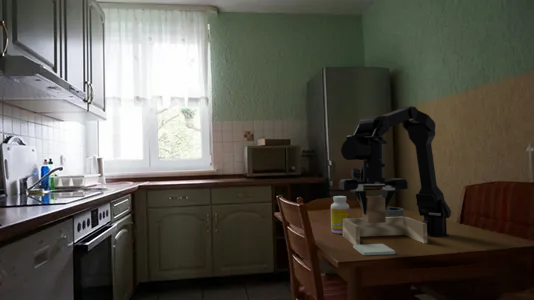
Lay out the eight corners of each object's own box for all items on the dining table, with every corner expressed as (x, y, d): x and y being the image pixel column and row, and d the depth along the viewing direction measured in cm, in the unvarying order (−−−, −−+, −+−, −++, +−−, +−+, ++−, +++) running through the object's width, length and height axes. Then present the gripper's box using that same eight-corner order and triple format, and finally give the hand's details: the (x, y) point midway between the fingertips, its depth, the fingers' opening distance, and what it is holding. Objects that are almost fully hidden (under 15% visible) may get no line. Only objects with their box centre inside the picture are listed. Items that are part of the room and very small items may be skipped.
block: (378, 219, 109) (378, 195, 110) (385, 222, 104) (385, 197, 105) (362, 220, 109) (361, 196, 109) (368, 222, 104) (367, 197, 104)
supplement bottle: (350, 234, 129) (349, 197, 130) (331, 234, 131) (330, 197, 131) (350, 230, 136) (349, 195, 136) (331, 230, 137) (330, 195, 138)
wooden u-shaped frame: (406, 233, 128) (405, 216, 128) (427, 243, 114) (426, 223, 114) (342, 236, 126) (342, 218, 127) (356, 246, 112) (355, 226, 112)
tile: (382, 246, 111) (382, 243, 111) (395, 254, 102) (395, 251, 102) (353, 247, 111) (353, 244, 111) (363, 255, 102) (363, 252, 102)
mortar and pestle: (409, 228, 138) (408, 195, 138) (388, 230, 135) (387, 197, 135) (390, 223, 149) (389, 193, 149) (370, 225, 146) (369, 194, 146)
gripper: (392, 160, 116) (393, 210, 116) (333, 160, 114) (334, 211, 114) (408, 159, 105) (409, 215, 104) (344, 160, 103) (345, 216, 103)
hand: (373, 214), depth 107 cm, fingers closed on block, 5 cm apart
